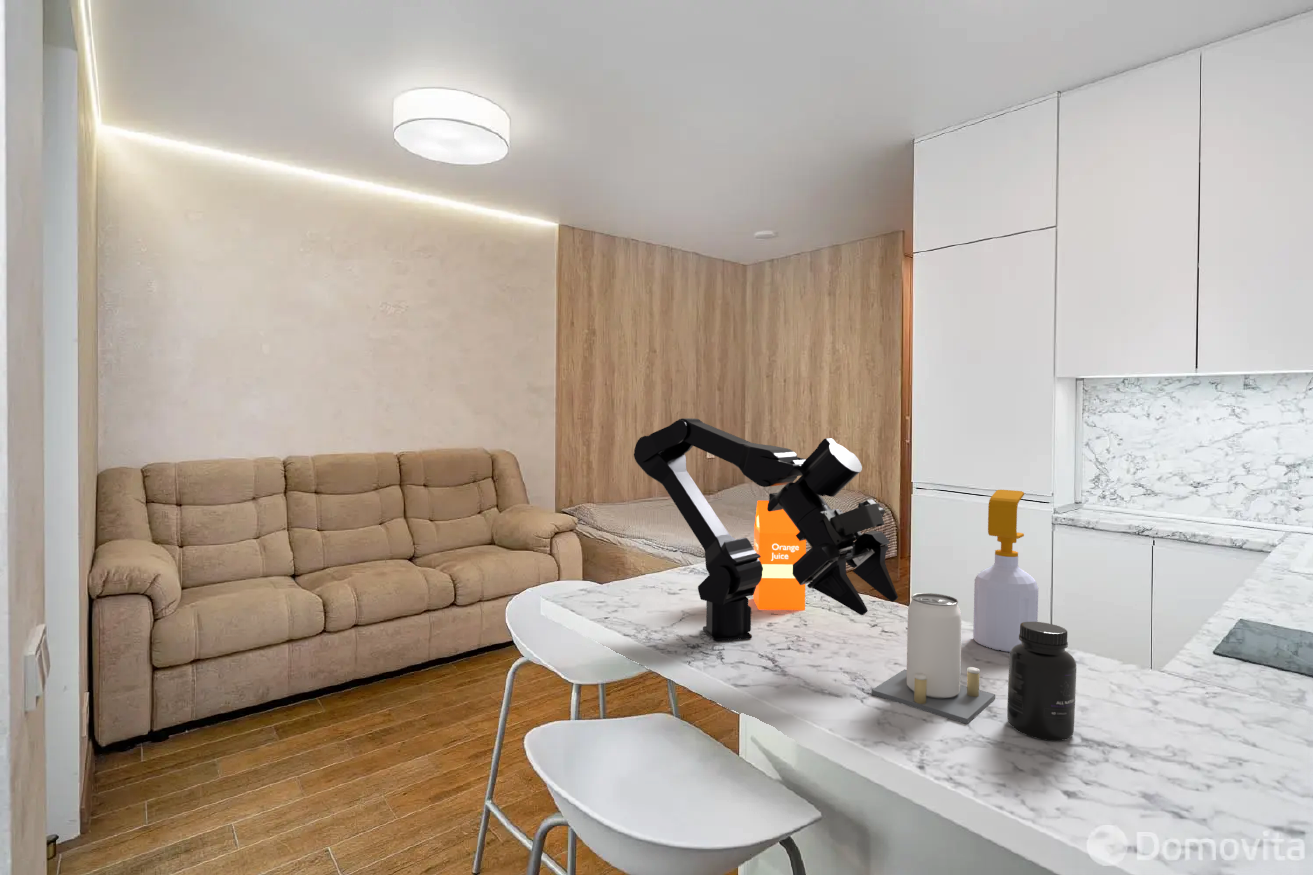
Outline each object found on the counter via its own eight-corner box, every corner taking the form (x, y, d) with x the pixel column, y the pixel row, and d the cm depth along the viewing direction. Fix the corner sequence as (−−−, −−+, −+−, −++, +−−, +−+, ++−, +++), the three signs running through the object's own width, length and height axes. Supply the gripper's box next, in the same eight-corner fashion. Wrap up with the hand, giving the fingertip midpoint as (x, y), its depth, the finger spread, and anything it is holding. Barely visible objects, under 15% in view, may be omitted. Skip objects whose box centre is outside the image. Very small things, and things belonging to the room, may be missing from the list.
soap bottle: (1043, 643, 109) (1047, 491, 108) (1027, 657, 102) (1031, 495, 101) (983, 630, 115) (987, 486, 114) (965, 643, 108) (968, 490, 107)
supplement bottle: (1074, 748, 74) (1077, 640, 74) (1004, 732, 78) (1007, 629, 77) (1074, 724, 80) (1077, 624, 80) (1009, 711, 84) (1012, 614, 83)
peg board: (871, 694, 88) (872, 664, 88) (904, 673, 95) (904, 646, 95) (967, 723, 80) (968, 691, 80) (995, 698, 87) (995, 668, 87)
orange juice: (805, 610, 126) (807, 503, 125) (758, 609, 126) (759, 503, 126) (797, 598, 134) (798, 498, 133) (752, 598, 134) (754, 498, 133)
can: (963, 702, 84) (965, 607, 84) (908, 696, 86) (909, 602, 86) (956, 683, 90) (958, 594, 90) (904, 677, 92) (906, 590, 92)
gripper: (814, 486, 89) (892, 585, 82) (879, 477, 103) (950, 562, 95) (763, 536, 95) (831, 633, 88) (830, 522, 108) (894, 605, 101)
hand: (880, 606), depth 93 cm, fingers open, 9 cm apart
